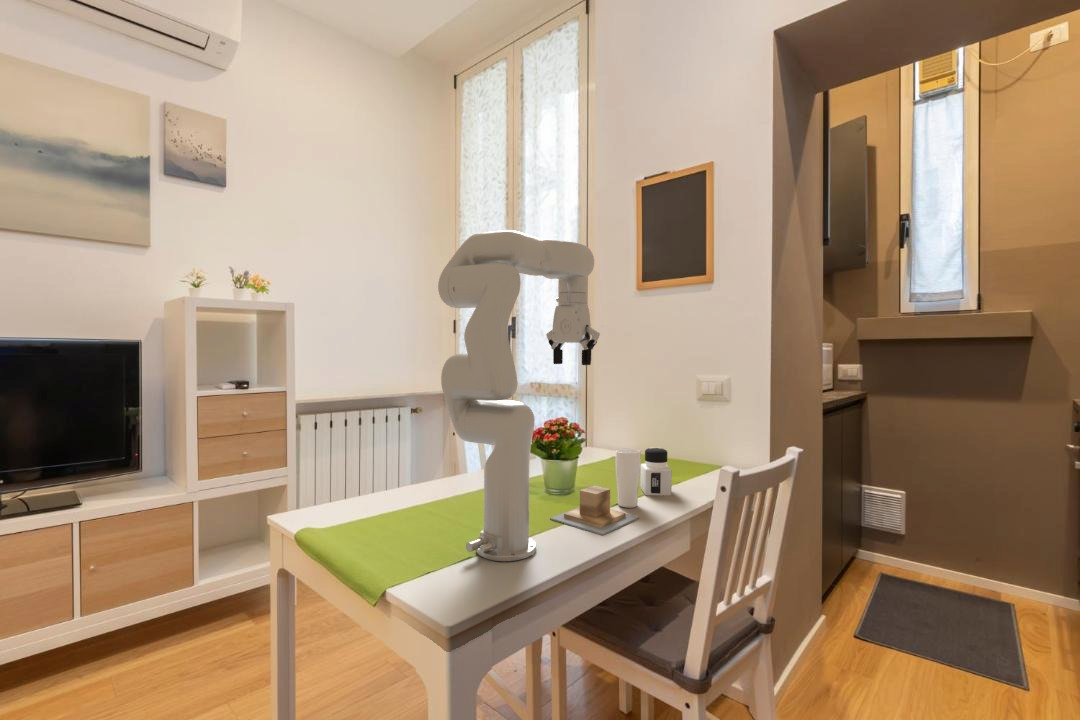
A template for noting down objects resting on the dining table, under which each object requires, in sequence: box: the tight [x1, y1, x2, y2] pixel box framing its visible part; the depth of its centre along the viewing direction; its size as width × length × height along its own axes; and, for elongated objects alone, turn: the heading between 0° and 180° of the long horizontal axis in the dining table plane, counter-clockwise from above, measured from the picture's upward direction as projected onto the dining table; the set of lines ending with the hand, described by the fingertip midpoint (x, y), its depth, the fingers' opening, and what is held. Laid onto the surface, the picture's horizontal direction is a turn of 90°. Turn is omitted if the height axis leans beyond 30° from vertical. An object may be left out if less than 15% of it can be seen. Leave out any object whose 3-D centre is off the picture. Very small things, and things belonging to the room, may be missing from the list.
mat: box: [549, 506, 641, 536], centre depth 130 cm, size 16×16×1 cm
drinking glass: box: [614, 447, 642, 509], centre depth 140 cm, size 7×7×15 cm
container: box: [639, 447, 673, 497], centre depth 154 cm, size 8×8×13 cm
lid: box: [564, 485, 626, 528], centre depth 129 cm, size 11×11×7 cm
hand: (571, 364), depth 139 cm, fingers open, 9 cm apart
